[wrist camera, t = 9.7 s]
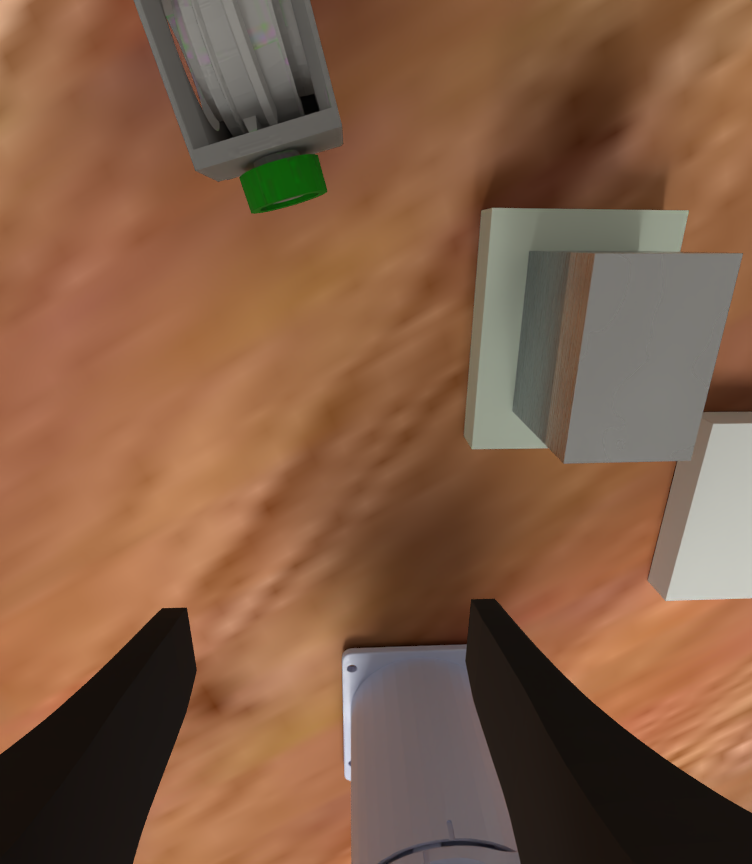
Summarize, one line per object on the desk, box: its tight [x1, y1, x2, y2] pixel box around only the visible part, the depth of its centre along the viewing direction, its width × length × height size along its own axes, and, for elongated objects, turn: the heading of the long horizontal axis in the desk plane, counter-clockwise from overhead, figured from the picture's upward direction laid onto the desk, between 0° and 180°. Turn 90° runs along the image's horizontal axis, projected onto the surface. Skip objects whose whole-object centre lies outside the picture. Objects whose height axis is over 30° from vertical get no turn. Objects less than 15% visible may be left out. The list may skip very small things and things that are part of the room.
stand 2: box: [648, 412, 752, 601], centre depth 23 cm, size 9×7×2 cm
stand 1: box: [464, 208, 689, 449], centre depth 19 cm, size 9×7×2 cm
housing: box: [512, 251, 743, 463], centre depth 16 cm, size 6×4×5 cm, turn 0°
